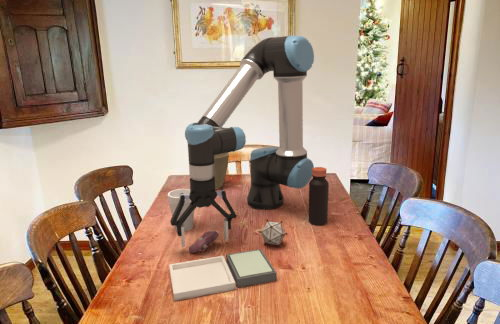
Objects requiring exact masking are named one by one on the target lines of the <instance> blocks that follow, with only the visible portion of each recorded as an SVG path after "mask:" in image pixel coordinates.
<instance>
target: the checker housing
mask: <svg viewBox="0 0 500 324" xmlns="http://www.w3.org/2000/svg"><path fill="white" fill-rule="evenodd" d="M257 250H259V251H260V252H261V254H262V255H263V257H264V258H265V260H266V262H267V263H268V265H269V266H270V268H271V269H272V271H273V272H269V273H264V274H258V275H253V276H247V277H242V278H239V276H238V274H237V272H236V270H235V268H234V266H233V264H232V262H231V260H230V255H232V254H239V253H245V252H251V251H257ZM225 257H226V259H225V261H226V263H227V265H228V267H229V270H230V272H231V274H232V276H233V279H234V281H235V285H236V287H237V288H238V289H239V288H245V287H248V286H249V287H250V285H251V286H255V284H256V285H260V284H261V285H262V284H265V283H270V282H276V281H277V271H276V270H275V268H274V266H273V265H272V263H271V261H270V260H269V258H268V256H266V255H265V253H264V251H263V250H262V249H261V248H258V249H251V250H245V251H239V252H233V253H227V254H225Z"/></svg>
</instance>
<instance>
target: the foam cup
mask: <svg viewBox="0 0 500 324" xmlns="http://www.w3.org/2000/svg"><path fill="white" fill-rule="evenodd" d="M181 193H183V194H190V188H177V189H173V190H171V191H169V192H168V193H167V200H168V203H169V208H170V213H171V217H172V216H173V214H174V211H175V209H176V207H177V205H178V203H179V200H180V194H181ZM190 203H191V200H190V199H187V201H186V202H184V206H183V208H182V210H181V212H180V215H179V217H178V219H179V218H180V216H181V215H182V214H183V213H184V211H185V210H186V209H187V207H188V206H189V204H190ZM194 216H195V210H193V211H192V213H191V214H190V215H189V216H188V218H187V219H186V220H185V222H184V223H183V226H184V232H187V231H190V230H192V229H193V228H194V218H195V217H194ZM178 219H177V220H178ZM174 230H175V231H177V226H174Z"/></svg>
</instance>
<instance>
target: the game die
mask: <svg viewBox="0 0 500 324" xmlns="http://www.w3.org/2000/svg"><path fill="white" fill-rule="evenodd" d="M282 223H283V220H281V221H280V222H278V221H269V219H268V218H266V224H265V225H264V227H263V228H262V230H261V231H260V230H259V231H258V233H260V234H261V235H262V238H263V240H264V246H265V245H267V244H268V245H269V244H270V245H275V246H276V245H277V246H278V248H281V243H282V241H283V239H284V238H285V236H288V233H287V232H285V229H284V227H283V224H282Z"/></svg>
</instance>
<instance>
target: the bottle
mask: <svg viewBox="0 0 500 324" xmlns="http://www.w3.org/2000/svg"><path fill="white" fill-rule="evenodd" d="M326 177H327V168H326V167H323V166H317V167H316V166H315V167H314V168H312V178H311V179H310V181H309V182H308V222H309V224H311V225H314V226H324V225H326V224H328V220H329V219H328V215H329V214H328V213H329V211H328V210H329V189H330V188H329V187H330V184H329V181H328V180H327V179H326Z"/></svg>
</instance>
